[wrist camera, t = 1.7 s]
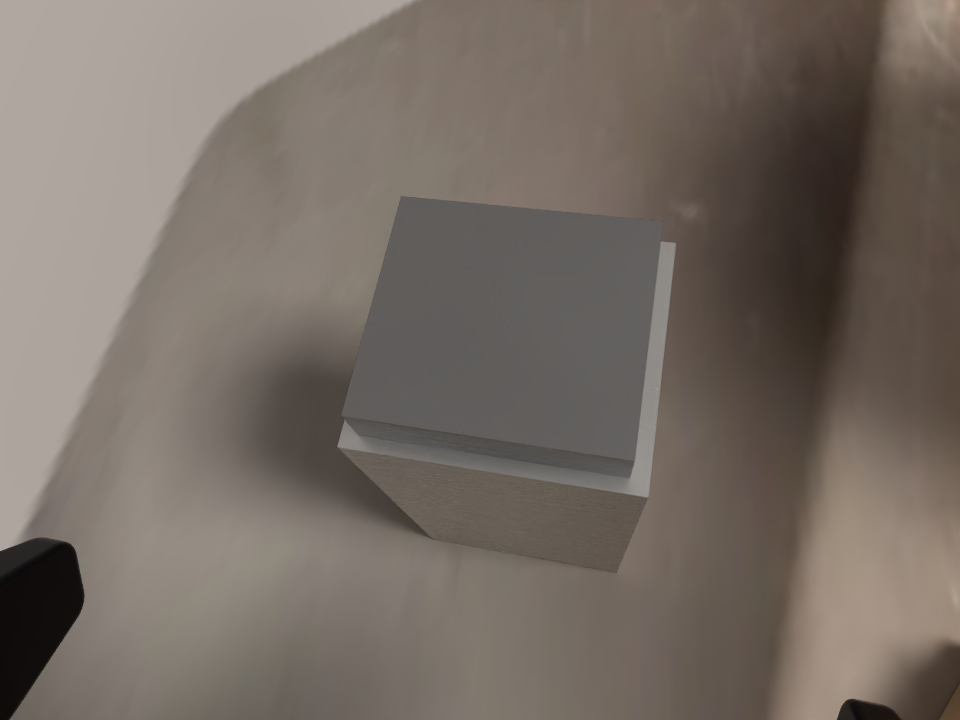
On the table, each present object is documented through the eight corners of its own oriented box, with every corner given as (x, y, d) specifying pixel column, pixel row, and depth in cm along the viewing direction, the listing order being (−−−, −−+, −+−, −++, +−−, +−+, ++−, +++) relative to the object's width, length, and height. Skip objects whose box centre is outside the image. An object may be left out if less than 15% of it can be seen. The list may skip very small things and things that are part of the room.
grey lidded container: (616, 572, 19) (654, 481, 10) (432, 539, 20) (317, 428, 11) (636, 411, 21) (684, 209, 12) (465, 387, 22) (388, 182, 13)
